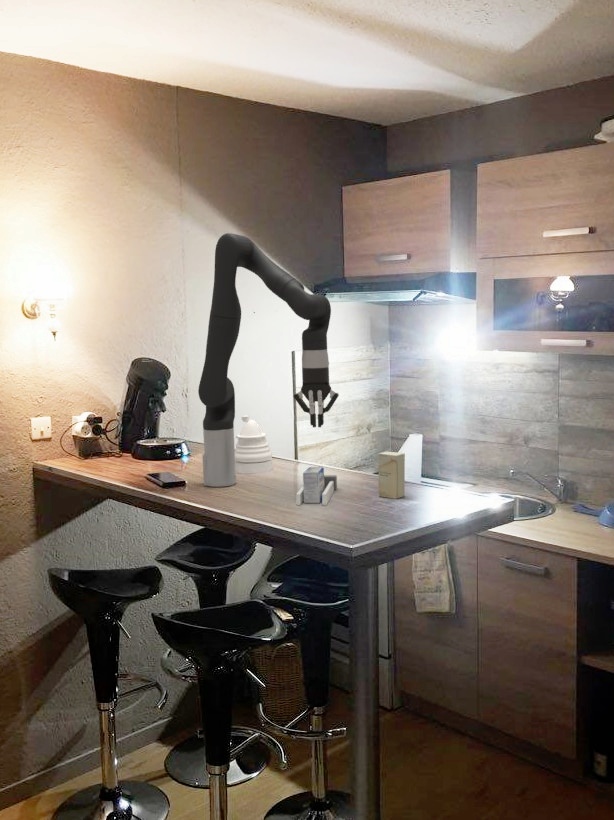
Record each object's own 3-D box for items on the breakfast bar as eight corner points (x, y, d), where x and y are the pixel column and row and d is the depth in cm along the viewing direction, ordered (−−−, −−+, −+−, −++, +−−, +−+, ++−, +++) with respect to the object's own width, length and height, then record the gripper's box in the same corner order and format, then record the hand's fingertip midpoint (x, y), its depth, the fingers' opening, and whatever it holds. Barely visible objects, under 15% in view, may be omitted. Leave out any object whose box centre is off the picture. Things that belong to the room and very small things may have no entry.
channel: (294, 505, 226) (294, 490, 226) (306, 488, 247) (306, 475, 246) (328, 505, 225) (327, 490, 225) (337, 488, 245) (336, 475, 245)
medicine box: (319, 503, 227) (318, 472, 226) (303, 503, 228) (302, 472, 227) (325, 497, 235) (324, 466, 234) (309, 497, 236) (308, 466, 235)
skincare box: (378, 496, 233) (377, 453, 232) (387, 493, 237) (386, 450, 235) (397, 499, 230) (396, 455, 228) (406, 496, 233) (405, 452, 232)
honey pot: (230, 473, 273) (227, 419, 271) (238, 466, 286) (235, 413, 284) (269, 473, 272) (267, 418, 270) (275, 466, 285) (273, 413, 282)
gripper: (289, 367, 234) (291, 429, 236) (337, 366, 232) (339, 428, 234) (293, 365, 241) (296, 425, 243) (340, 364, 239) (342, 424, 241)
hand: (317, 426), depth 239 cm, fingers closed
